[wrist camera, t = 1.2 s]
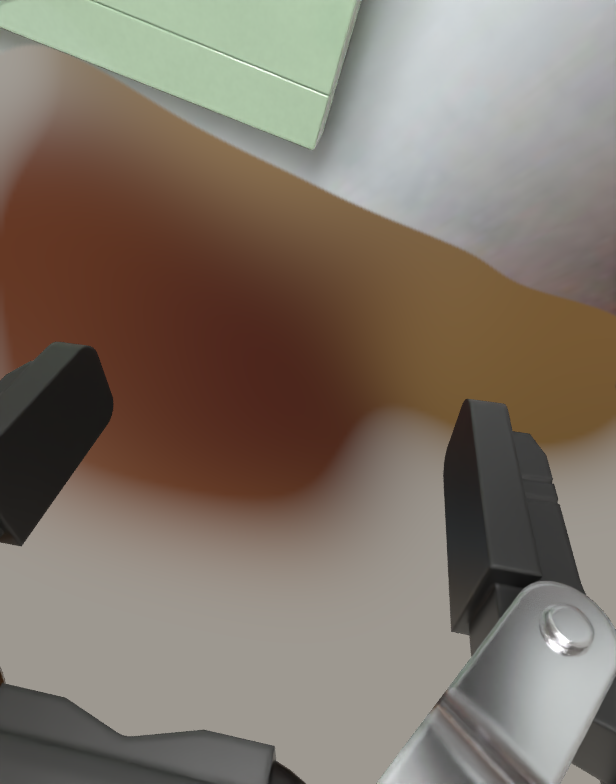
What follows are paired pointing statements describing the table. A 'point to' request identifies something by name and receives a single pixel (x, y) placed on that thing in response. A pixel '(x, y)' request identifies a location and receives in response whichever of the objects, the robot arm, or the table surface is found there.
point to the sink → (209, 51)
